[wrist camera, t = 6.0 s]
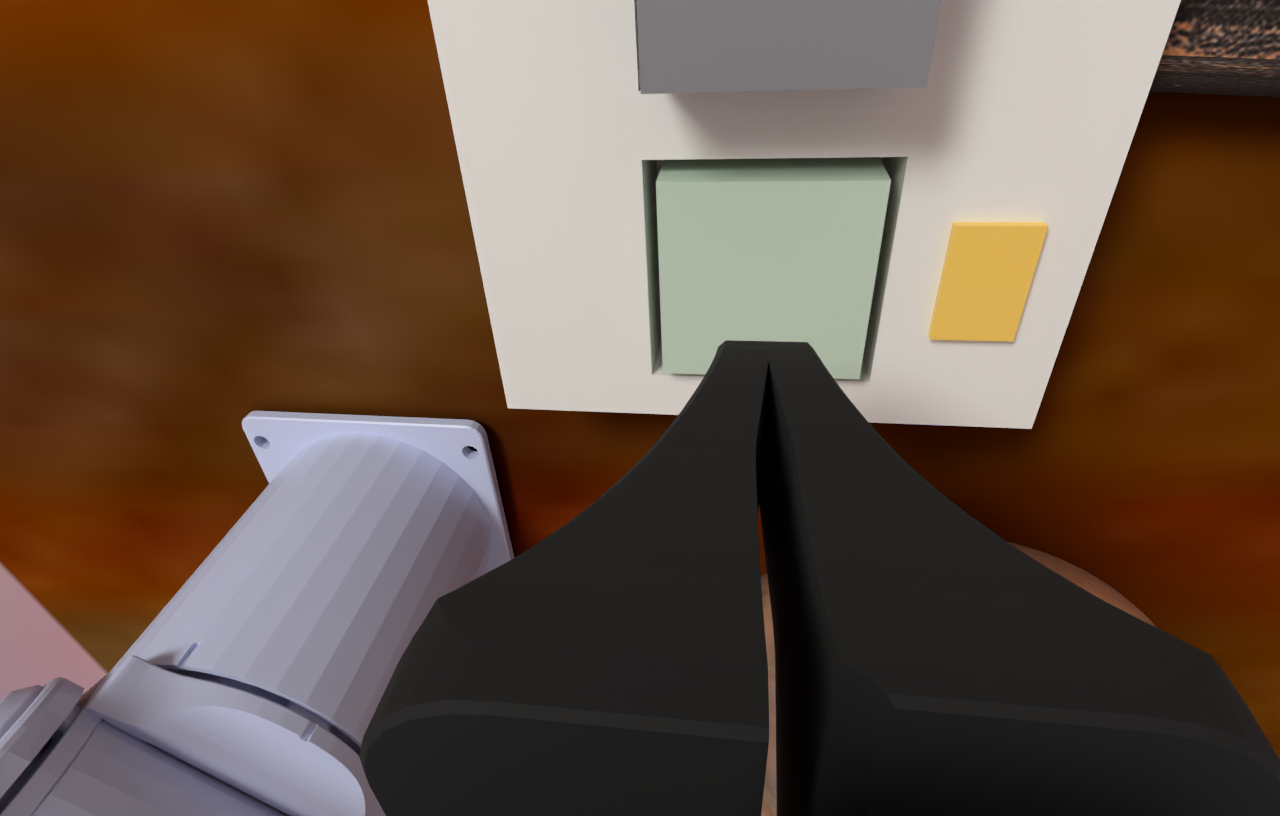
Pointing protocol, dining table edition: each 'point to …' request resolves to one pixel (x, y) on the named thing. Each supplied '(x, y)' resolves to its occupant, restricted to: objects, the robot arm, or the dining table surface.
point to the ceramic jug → (1050, 561)
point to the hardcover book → (1222, 49)
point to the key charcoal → (784, 44)
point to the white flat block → (798, 128)
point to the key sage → (768, 256)
